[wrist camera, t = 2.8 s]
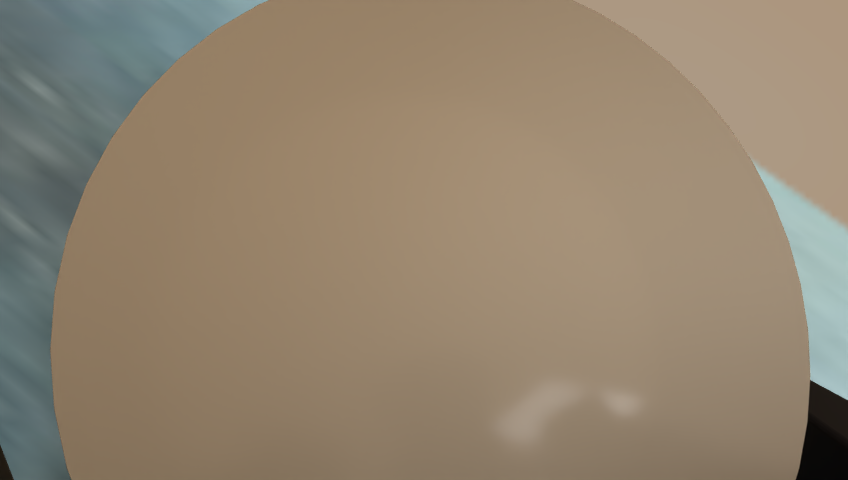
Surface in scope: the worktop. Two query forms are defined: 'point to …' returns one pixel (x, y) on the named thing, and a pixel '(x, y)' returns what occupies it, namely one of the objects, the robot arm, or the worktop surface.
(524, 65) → the jug
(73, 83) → the worktop surface
